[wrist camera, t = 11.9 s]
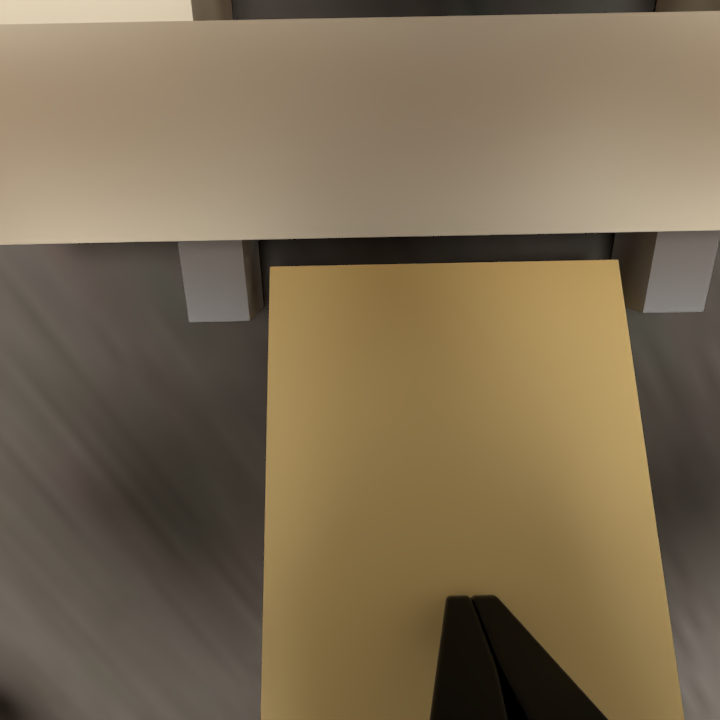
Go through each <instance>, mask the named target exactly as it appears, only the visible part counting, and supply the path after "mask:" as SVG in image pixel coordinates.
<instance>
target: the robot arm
mask: <svg viewBox="0 0 720 720" xmlns="http://www.w3.org/2000/svg"><path fill="white" fill-rule="evenodd" d="M429 720H608V718H607V717H606V716H605V715H604V714H603V713H602V712H601V711H600V710H599V709H598V707H597V706H596V705H595V704H594V703H593V702H592V701H591V700H590V699H589V697H588V696H587V695H586V694H585V693H584V692H583V691H582V690H581V689H580V688H579V686H578V685H577V684H576V683H575V682H574V681H573V680H572V679H571V678H570V676H569V675H568V674H567V673H566V672H565V671H564V670H563V669H562V668H561V667H560V665H559V664H558V663H557V662H556V661H555V660H554V659H553V658H552V657H551V656H550V654H549V653H548V652H547V651H546V650H545V649H544V648H543V647H542V646H541V644H540V643H539V642H538V641H537V640H536V639H535V638H534V637H533V636H532V635H531V633H530V632H529V631H528V630H527V629H526V628H525V627H524V626H523V625H522V623H521V622H520V621H519V620H518V619H517V618H516V617H515V616H514V615H513V614H512V612H511V611H510V610H509V609H508V608H507V607H506V606H505V605H504V604H503V603H502V601H501V600H500V599H499V598H498V597H496V596H495V595H474V596H472V597H471V598H470V597H469V596H468V595H451V596H448V597H447V598H446V601H445V608H444V616H443V623H442V631H441V638H440V645H439V653H438V660H437V668H436V675H435V682H434V690H433V697H432V705H431V712H430V719H429Z"/></svg>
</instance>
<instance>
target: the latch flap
mask: <svg viewBox="0 0 720 720" xmlns="http://www.w3.org/2000/svg"><path fill="white" fill-rule="evenodd" d="M451 595H468V596H469V597H470V598H471V597H472V596H474V595H495V596H496V597H498V598H499V599H500V600H501V601H502V603H503V604H504V605H505V606H506V607H507V608H508V609H509V610H510V611H511V612H512V614H513V615H514V616H515V617H516V618H517V619H518V620H519V621H520V622H521V623H522V625H523V626H524V627H525V628H526V629H527V630H528V631H529V632H530V633H531V635H532V636H533V637H534V638H535V639H536V640H537V641H538V642H539V643H540V644H541V646H542V647H543V648H544V649H545V650H546V651H547V652H548V653H549V654H550V656H551V657H552V658H553V659H554V660H555V661H556V662H557V663H558V664H559V665H560V667H561V668H562V669H563V670H564V671H565V672H566V673H567V674H568V675H569V676H570V678H571V679H572V680H573V681H574V682H575V683H576V684H577V685H578V686H579V688H580V689H581V690H582V691H583V692H584V693H585V694H586V695H587V696H588V697H589V699H590V700H591V701H592V702H593V703H594V704H595V705H596V706H597V707H598V709H599V710H600V711H601V712H602V713H603V714H604V715H605V716H606V717H607V718H608V720H684V713H683V707H682V700H681V693H680V686H679V679H678V672H677V665H676V658H675V651H674V644H673V637H672V630H671V623H670V616H669V609H668V602H667V595H666V588H665V581H664V574H663V567H662V561H661V554H660V547H659V540H658V533H657V526H656V519H655V512H654V505H653V498H652V491H651V484H650V477H649V470H648V463H647V456H646V449H645V442H644V435H643V428H642V421H641V415H640V408H639V401H638V394H637V387H636V380H635V373H634V366H633V359H632V352H631V345H630V338H629V331H628V324H627V317H626V310H625V303H624V296H623V289H622V282H621V275H620V269H619V262H618V260H575V261H526V262H476V263H426V264H376V265H327V266H277V267H270V291H269V340H268V389H267V439H266V488H265V537H264V587H263V636H262V686H261V720H429V719H430V712H431V705H432V697H433V690H434V682H435V675H436V668H437V660H438V653H439V645H440V638H441V631H442V623H443V616H444V608H445V601H446V598H447V597H448V596H451Z"/></svg>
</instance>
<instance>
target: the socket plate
mask: <svg viewBox="0 0 720 720" xmlns="http://www.w3.org/2000/svg"><path fill="white" fill-rule="evenodd" d="M608 232H615V239H614V245H613V251H612V258H611V260H618V262H619V269H620V275H621V282H622V289H623V296H624V303H625V307H627V308H630V309H633V310H636V311H639V312H642V313H663V312H703V311H704V306H705V302H706V298H707V293H708V289H709V285H710V280H711V276H712V271H713V267H714V263H715V258H716V254H717V249H718V245H719V241H720V0H657V3H656V10H655V12H639V13H585V14H532V15H479V16H425V17H372V18H319V19H265V20H233V12H232V1H231V0H0V245H7V244H57V243H107V242H157V241H177V242H178V249H179V256H180V263H181V270H182V277H183V283H184V290H185V297H186V304H187V311H188V318H189V322H223V321H250V320H251V319H252V318H253V317H254V316H255V315H256V314H257V313H258V312H259V311H260V310H261V309H262V308H263V307H264V303H263V292H262V281H261V269H260V258H259V247H258V239H307V238H358V237H408V236H458V235H508V234H558V233H608Z"/></svg>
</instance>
